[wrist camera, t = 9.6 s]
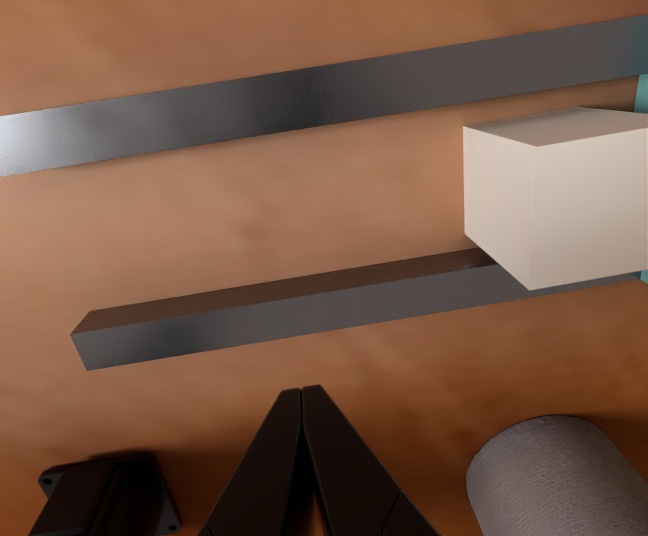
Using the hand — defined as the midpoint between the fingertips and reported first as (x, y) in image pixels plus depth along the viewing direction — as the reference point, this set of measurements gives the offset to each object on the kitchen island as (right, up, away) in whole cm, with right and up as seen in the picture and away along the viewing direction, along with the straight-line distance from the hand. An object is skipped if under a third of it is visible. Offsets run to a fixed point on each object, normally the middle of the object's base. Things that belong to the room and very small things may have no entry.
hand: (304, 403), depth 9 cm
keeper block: (+9, +7, +10) cm, 16 cm away
